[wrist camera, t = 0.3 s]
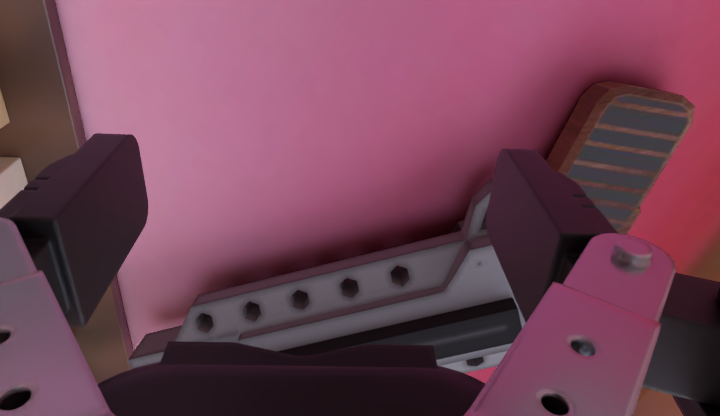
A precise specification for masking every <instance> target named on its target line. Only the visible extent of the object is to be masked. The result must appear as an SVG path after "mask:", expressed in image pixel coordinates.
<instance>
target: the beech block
mask: <svg viewBox="0 0 720 416" xmlns="http://www.w3.org/2000/svg"><path fill="white" fill-rule="evenodd" d="M9 122H10V120H9V117H8V113H7V110H6V107H5V103H4V100H3V96H2V93H1V90H0V129H1V128H2V127H4V126H5V125H6V124H8V123H9Z"/></svg>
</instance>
